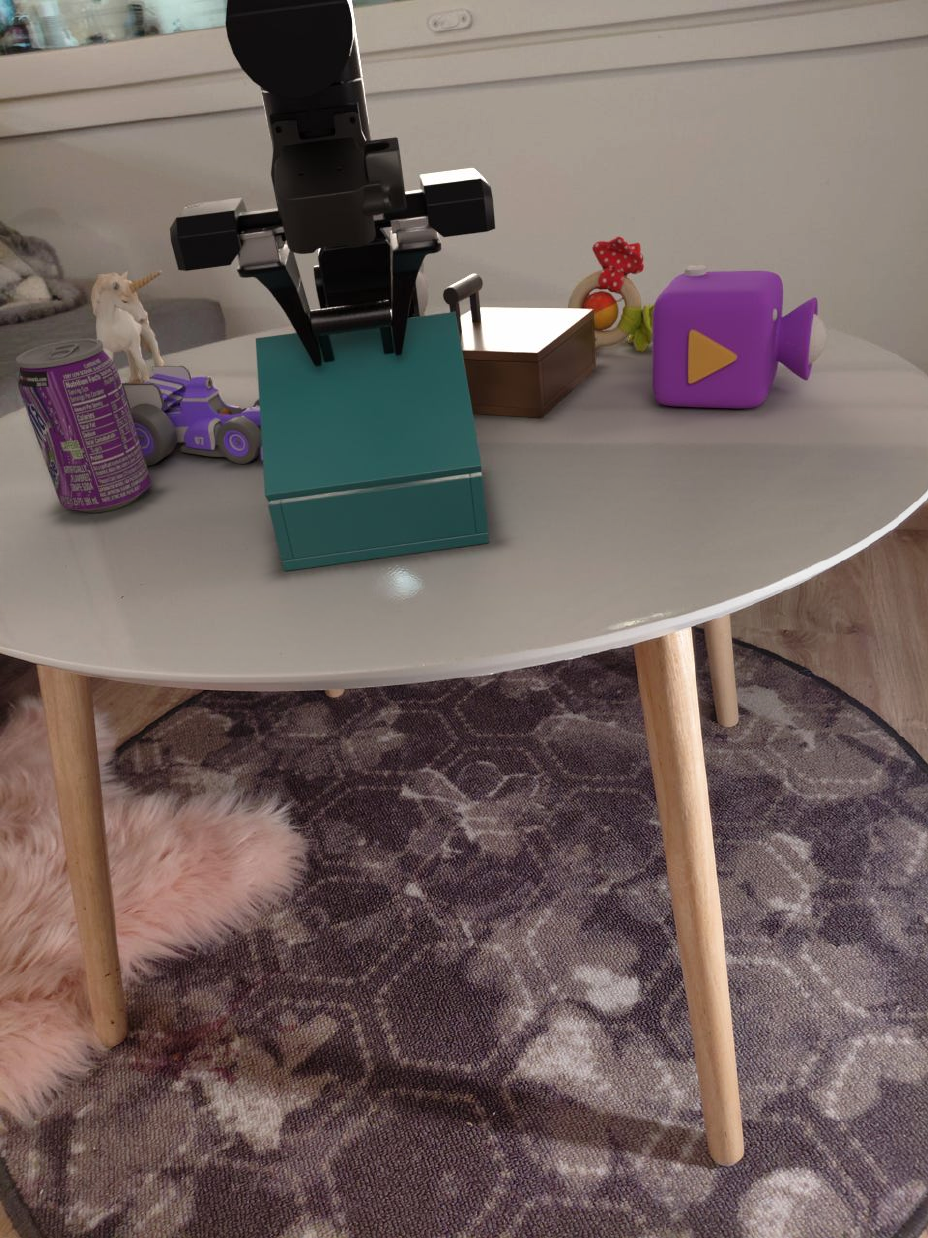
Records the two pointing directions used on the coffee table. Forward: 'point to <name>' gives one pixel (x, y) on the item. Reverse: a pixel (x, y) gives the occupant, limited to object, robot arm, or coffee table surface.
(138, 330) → the unicorn figurine
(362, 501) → the teal box
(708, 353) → the toy camera
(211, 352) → the coffee table surface
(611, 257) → the bird rattle
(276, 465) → the lid
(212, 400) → the toy race car
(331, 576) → the coffee table surface
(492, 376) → the box
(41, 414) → the beverage can
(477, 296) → the lid
